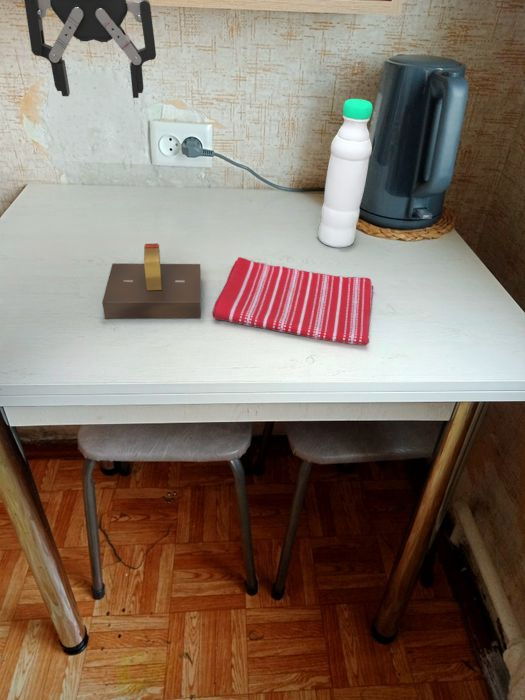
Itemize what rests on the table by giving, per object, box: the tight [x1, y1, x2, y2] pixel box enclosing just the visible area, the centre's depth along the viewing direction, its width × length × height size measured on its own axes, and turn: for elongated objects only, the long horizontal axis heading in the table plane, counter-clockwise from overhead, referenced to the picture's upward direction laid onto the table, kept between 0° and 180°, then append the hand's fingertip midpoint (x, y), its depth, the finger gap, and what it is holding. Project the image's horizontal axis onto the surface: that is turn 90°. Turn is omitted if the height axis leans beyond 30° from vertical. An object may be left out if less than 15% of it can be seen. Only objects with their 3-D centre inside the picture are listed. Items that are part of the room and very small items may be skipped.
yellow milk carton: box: [143, 242, 162, 290], centre depth 76 cm, size 5×2×5 cm, turn 10°
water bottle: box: [317, 98, 373, 249], centre depth 91 cm, size 7×7×25 cm
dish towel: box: [211, 256, 374, 346], centre depth 80 cm, size 17×24×3 cm
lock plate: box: [101, 262, 202, 320], centre depth 79 cm, size 14×11×3 cm
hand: (101, 95), depth 65 cm, fingers open, 8 cm apart
